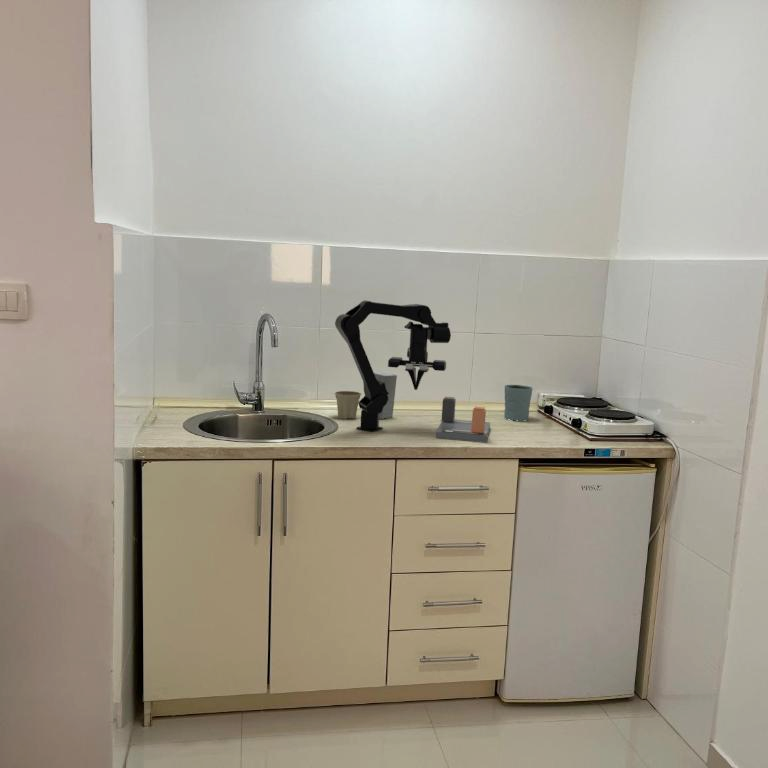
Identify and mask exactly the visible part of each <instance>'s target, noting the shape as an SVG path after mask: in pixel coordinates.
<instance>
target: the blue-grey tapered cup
mask: <svg viewBox="0 0 768 768" xmlns="http://www.w3.org/2000/svg"><path fill="white" fill-rule="evenodd" d="M532 394H533V386H528V385H522V384H506V385H504V412H503V413H504V415H503V416H504V419H505V418H506V419H505V420H507V419H510V420H518V421H517V422H524V421H523V420H527V421H528V420H529V417H530V407H531V400H532ZM510 420H509V421H510Z"/></svg>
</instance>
